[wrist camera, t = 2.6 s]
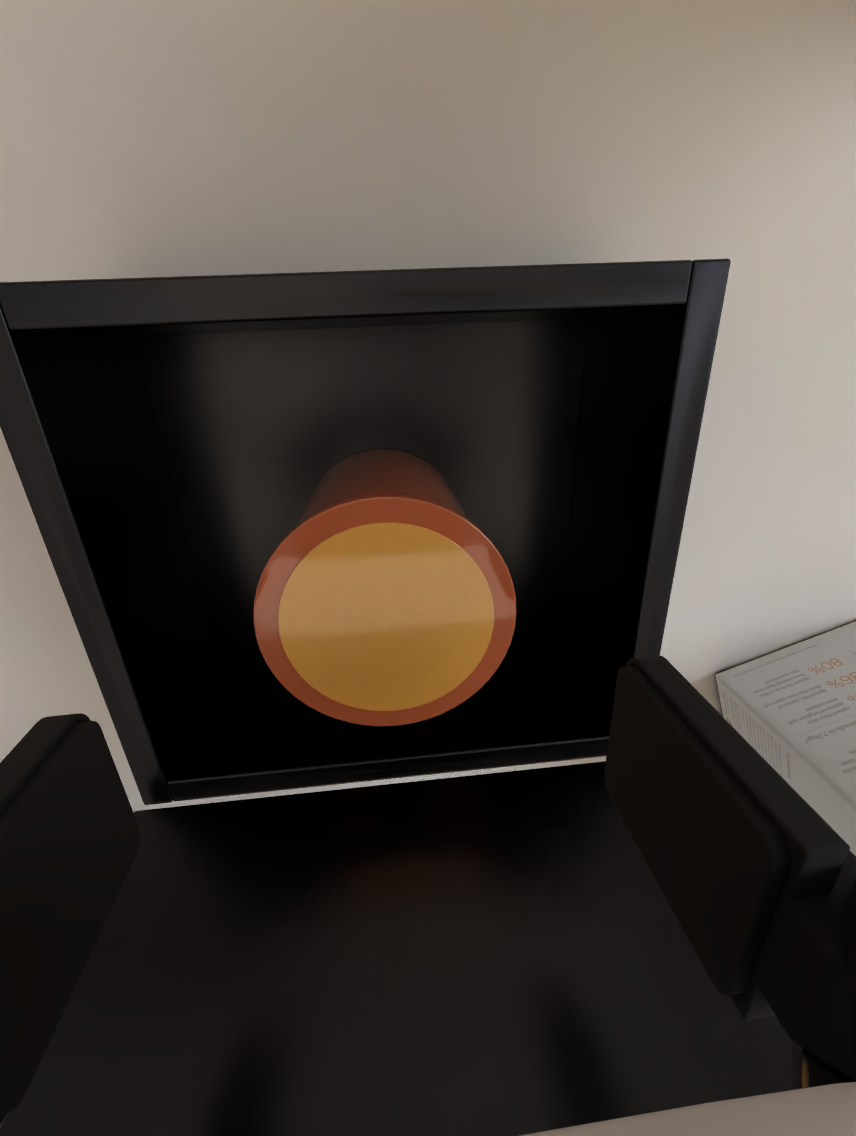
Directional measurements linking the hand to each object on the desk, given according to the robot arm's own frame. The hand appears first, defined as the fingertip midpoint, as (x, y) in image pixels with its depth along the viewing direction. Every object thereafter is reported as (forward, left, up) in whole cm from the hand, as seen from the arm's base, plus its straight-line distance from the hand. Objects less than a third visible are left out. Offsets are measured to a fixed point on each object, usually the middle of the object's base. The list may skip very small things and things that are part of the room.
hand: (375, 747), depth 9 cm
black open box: (-1, 0, -12) cm, 12 cm away
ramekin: (0, 0, -11) cm, 11 cm away
